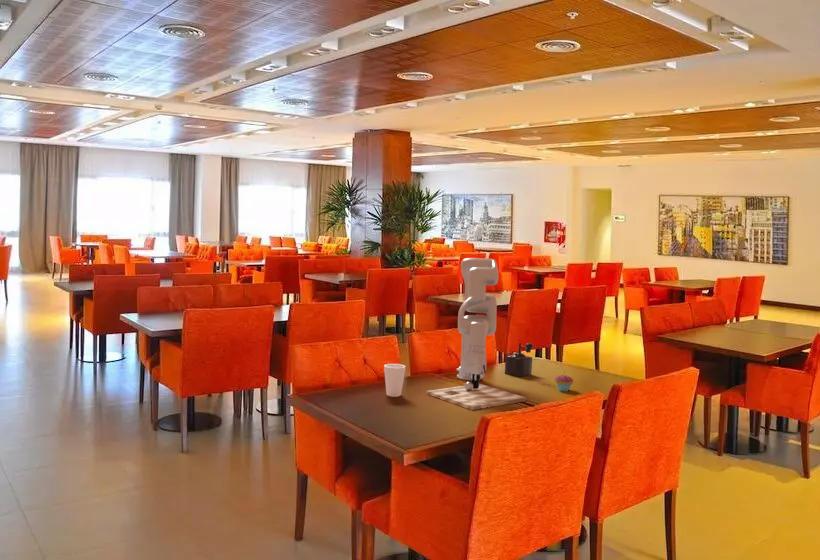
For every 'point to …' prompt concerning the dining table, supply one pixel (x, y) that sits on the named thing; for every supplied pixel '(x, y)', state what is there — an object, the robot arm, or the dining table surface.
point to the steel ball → (468, 386)
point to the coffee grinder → (519, 362)
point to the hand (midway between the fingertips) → (474, 388)
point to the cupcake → (564, 382)
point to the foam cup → (394, 379)
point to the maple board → (476, 396)
